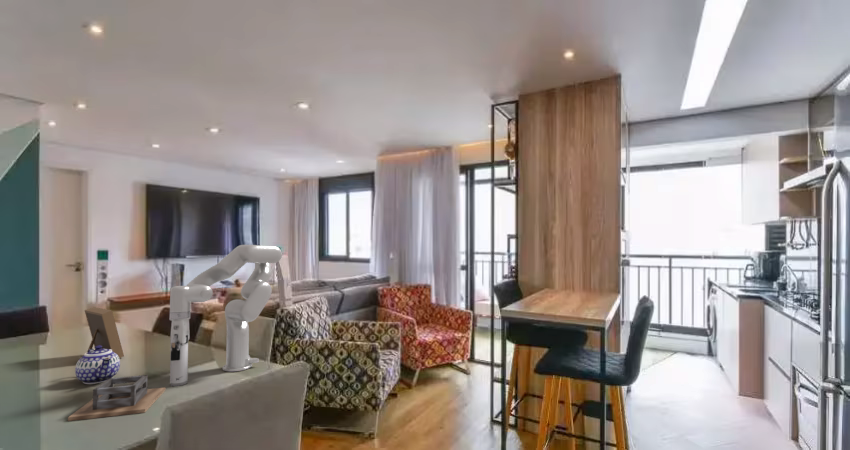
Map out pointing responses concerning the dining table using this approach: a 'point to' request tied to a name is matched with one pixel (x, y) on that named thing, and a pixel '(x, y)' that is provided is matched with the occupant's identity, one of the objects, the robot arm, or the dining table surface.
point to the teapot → (97, 365)
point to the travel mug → (180, 367)
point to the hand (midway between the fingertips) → (178, 357)
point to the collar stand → (119, 398)
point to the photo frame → (103, 330)
